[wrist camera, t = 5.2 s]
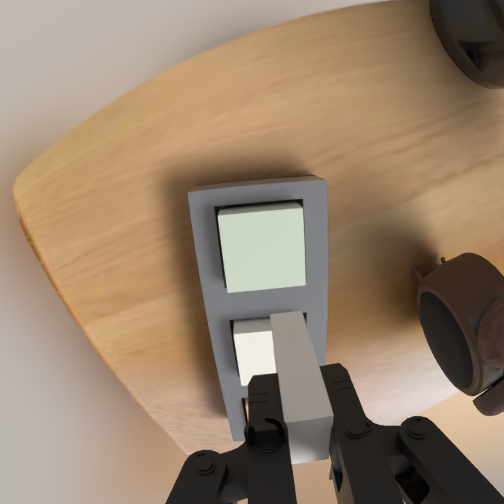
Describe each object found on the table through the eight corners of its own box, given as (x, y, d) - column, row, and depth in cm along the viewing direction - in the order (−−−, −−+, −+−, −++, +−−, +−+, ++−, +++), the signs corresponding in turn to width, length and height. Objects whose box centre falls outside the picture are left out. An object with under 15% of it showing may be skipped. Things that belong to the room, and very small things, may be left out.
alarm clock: (391, 257, 31) (514, 371, 12) (442, 229, 30) (575, 310, 11) (414, 348, 35) (489, 459, 16) (456, 322, 34) (541, 416, 16)
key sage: (296, 201, 26) (303, 207, 23) (299, 271, 28) (305, 285, 25) (220, 208, 26) (217, 215, 23) (229, 277, 28) (227, 292, 25)
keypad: (315, 175, 28) (326, 179, 24) (314, 411, 38) (319, 432, 34) (194, 186, 28) (187, 192, 24) (233, 419, 38) (233, 441, 34)
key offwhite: (300, 310, 29) (306, 326, 26) (301, 360, 31) (305, 379, 28) (234, 316, 29) (233, 334, 26) (241, 366, 31) (241, 385, 29)
